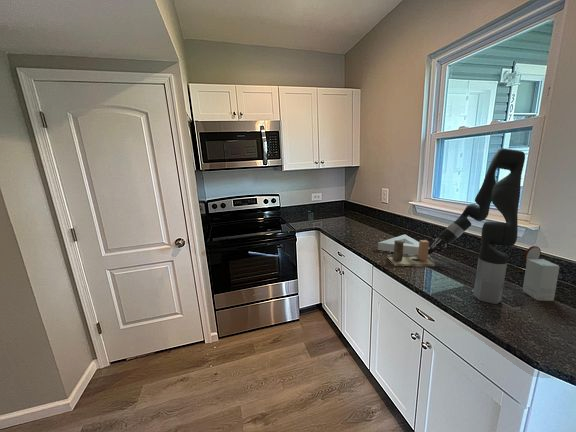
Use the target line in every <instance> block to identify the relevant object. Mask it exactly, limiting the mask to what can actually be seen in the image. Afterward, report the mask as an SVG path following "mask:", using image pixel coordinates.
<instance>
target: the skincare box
mask: <svg viewBox="0 0 576 432" xmlns="http://www.w3.org/2000/svg"><path fill="white" fill-rule="evenodd" d="M559 272H560V265H558V264H556V263H553V262H551V261H549V260H546V259H544V258H539V259H527V263H525V272H524V278H523V286H522V292H523V293H524V294H526V295H528V296H530V297H531V298H533V299H534V300H536V301H540V302H542V301H544V302H554V300H555V295H556V290H557V285H558V277H559Z"/></svg>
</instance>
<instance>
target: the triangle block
mask: <svg viewBox="0 0 576 432" xmlns="http://www.w3.org/2000/svg"><path fill="white" fill-rule="evenodd" d="M395 240H401V241H402V242H404V243H403V255H406V254H408V255H418V252H419V241H418V240H416V239H415V238H412V237H410V236H408V235H407V234H402V235H399V236H396V237H391V238H388V239H385V240H382V241H380V242H379V241H378V243H377V251H378V250H383V251H390V252H389V253H391V252H394V244H395ZM429 248H430V247H429ZM429 248H428V249H429ZM383 251H382V252H383ZM428 258H431V254H430V255H428Z"/></svg>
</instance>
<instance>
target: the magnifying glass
mask: <svg viewBox="0 0 576 432" xmlns="http://www.w3.org/2000/svg"><path fill="white" fill-rule="evenodd" d="M541 254H542V251H541V248H540V247H539V246H537V245H532V246H530V247H528V248H527V249H526V250H525V253H524V256H523V258H524V259H523V260H524V262H525V264H526V263H527V259H541V258H540V257H541Z"/></svg>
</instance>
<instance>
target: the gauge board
mask: <svg viewBox="0 0 576 432" xmlns="http://www.w3.org/2000/svg"><path fill="white" fill-rule="evenodd" d="M393 255H394V254H387V256H386V259H387V258H388V259H389V260H390V261H391V262H392V263H393V264H394V265H395V266H414V267H415V268H417V267H421V268H422V267H423V268H424V267H426V268H427V267H429V268H430V267H434V268H435V267H436V263H434V261H432V260H430V258H429V257H428V258H427V260H420V259H419V258H418V255H406V254H403V257H402V261H396V260H395V259H394V257H393ZM388 259H387V260H388ZM389 260H388V261H389ZM390 261H389V262H390ZM391 262H390V263H391ZM392 263H391V264H392ZM414 267H413V268H414Z"/></svg>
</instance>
